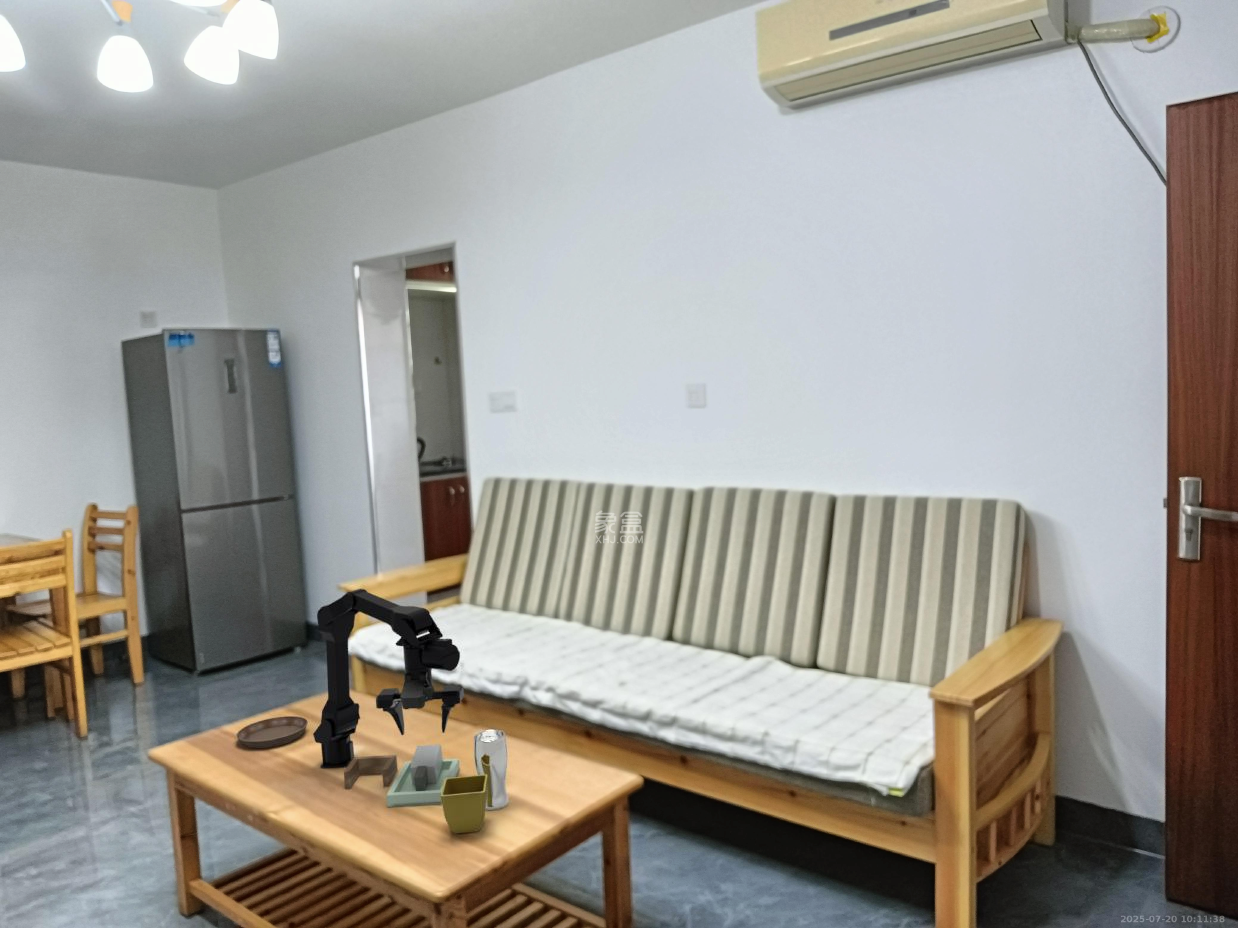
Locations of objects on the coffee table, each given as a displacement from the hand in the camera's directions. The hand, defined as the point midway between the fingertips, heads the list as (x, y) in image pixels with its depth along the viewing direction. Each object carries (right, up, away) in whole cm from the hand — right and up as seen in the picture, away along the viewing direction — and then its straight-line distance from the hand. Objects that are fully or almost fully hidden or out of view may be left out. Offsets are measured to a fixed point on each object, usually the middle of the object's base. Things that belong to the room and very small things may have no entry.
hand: (423, 733), depth 205 cm
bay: (-13, -12, +5) cm, 18 cm away
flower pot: (+13, -13, -21) cm, 28 cm away
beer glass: (+18, -12, -11) cm, 24 cm away
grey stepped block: (+1, -10, +1) cm, 10 cm away
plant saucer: (-47, -12, +35) cm, 60 cm away
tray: (+1, -12, -1) cm, 12 cm away
